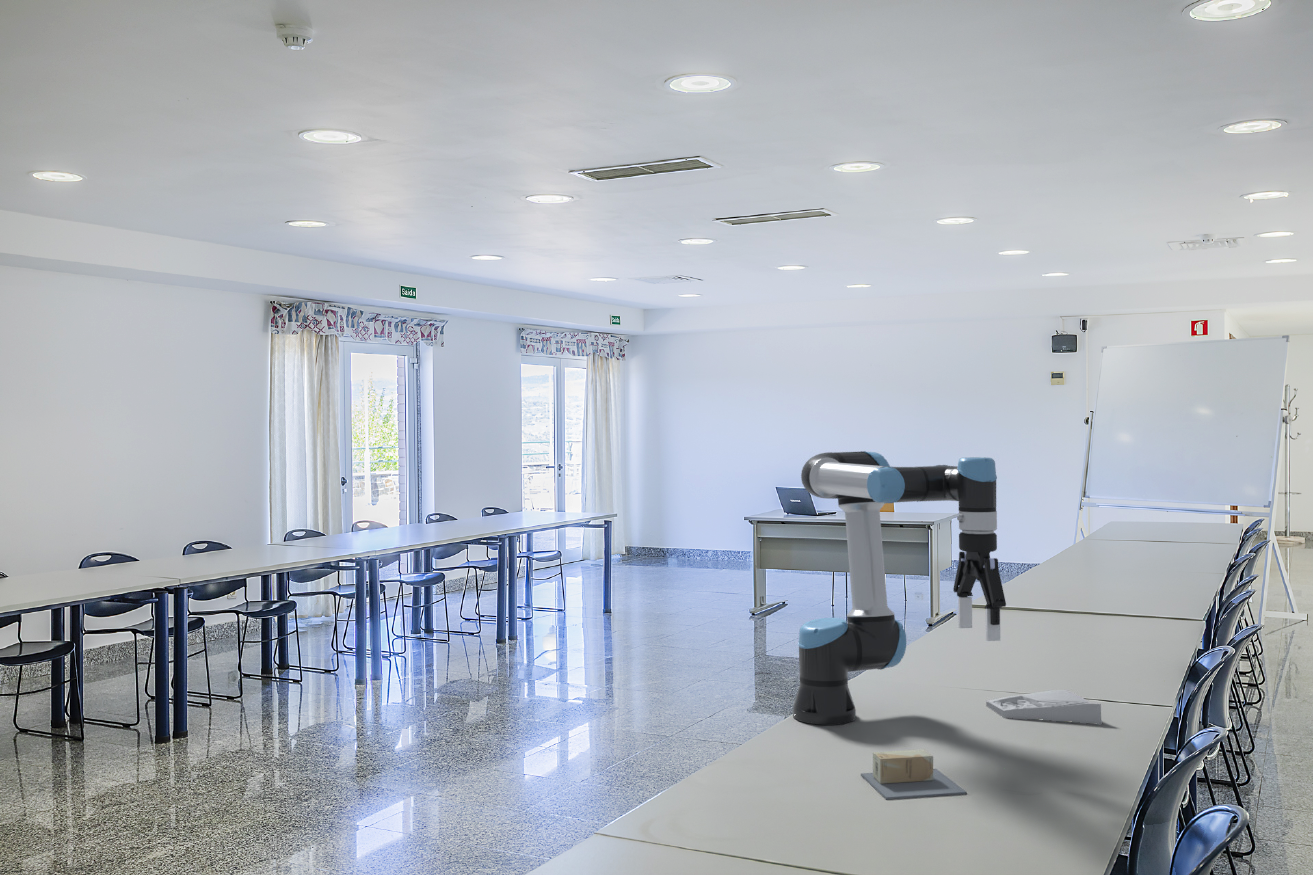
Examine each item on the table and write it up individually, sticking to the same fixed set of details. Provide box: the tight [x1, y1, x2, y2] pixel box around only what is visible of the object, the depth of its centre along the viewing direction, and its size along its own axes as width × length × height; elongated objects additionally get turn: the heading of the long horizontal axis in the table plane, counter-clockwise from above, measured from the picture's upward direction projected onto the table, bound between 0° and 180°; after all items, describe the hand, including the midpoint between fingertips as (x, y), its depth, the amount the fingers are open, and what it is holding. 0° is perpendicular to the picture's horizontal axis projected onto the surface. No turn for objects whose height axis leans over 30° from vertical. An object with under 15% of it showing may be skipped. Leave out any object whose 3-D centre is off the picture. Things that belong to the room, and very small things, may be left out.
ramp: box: [985, 689, 1102, 725], centre depth 248 cm, size 28×16×5 cm, turn 53°
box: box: [872, 748, 934, 784], centre depth 201 cm, size 5×4×11 cm
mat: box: [860, 768, 968, 800], centre depth 200 cm, size 14×16×1 cm
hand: (978, 634), depth 212 cm, fingers open, 13 cm apart
